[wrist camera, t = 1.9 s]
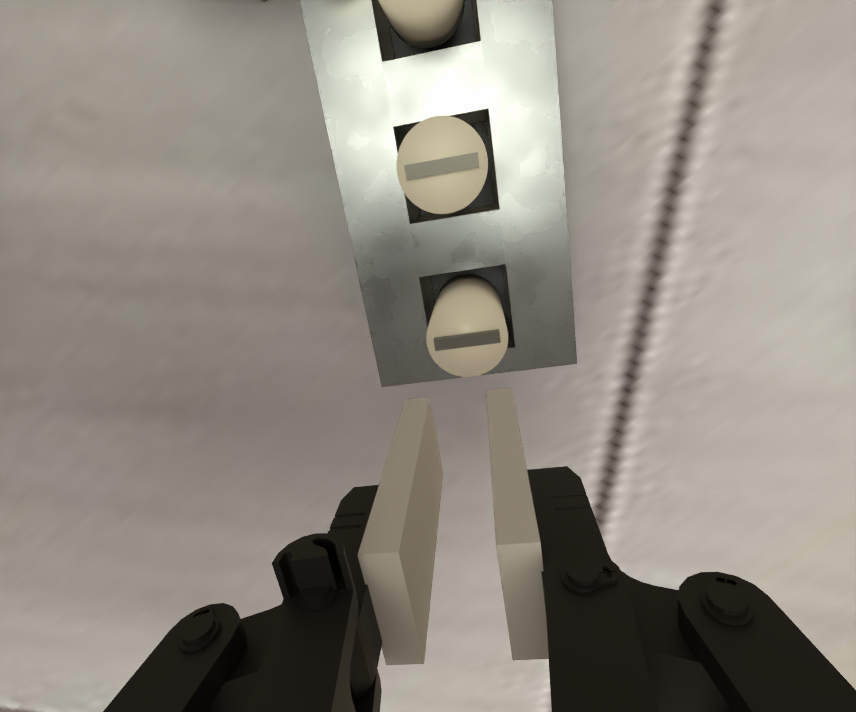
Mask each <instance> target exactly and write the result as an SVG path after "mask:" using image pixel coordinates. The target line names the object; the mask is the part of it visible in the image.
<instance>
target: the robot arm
mask: <svg viewBox="0 0 856 712" xmlns="http://www.w3.org/2000/svg"><path fill="white" fill-rule="evenodd" d="M486 397H487V413H488V428H489V444H490V459H491V475H492V490H493V506H494V521H495V537H496V548H497V555H498V562H499V569H500V576H501V583H502V589H503V596H504V603H505V610H506V617H507V624H508V631H509V637H510V644H511V651H512V658H513V660H529V659H549V671H550V687H551V704H552V712H856V690H855V689H854V688H853V687H852V686H851V685H850V684H849V682H848V681H847V680H846V679H845V678H844V677H843V676H842V675H841V674H840V673H839V672H838V671H837V670H836V668H835V667H834V666H833V665H832V664H831V663H830V662H829V661H828V660H827V659H826V658H825V657H824V655H823V654H822V653H821V652H820V651H819V650H818V649H817V648H816V647H815V646H814V645H813V644H812V642H811V641H810V640H809V639H808V638H807V637H806V636H805V635H804V634H803V633H802V632H801V631H800V629H799V628H798V627H797V626H796V625H795V624H794V623H793V622H792V621H791V620H790V619H789V618H788V616H787V615H786V614H785V613H784V612H783V611H782V610H781V609H780V608H779V607H778V606H777V605H776V604H775V602H774V601H773V600H772V599H771V598H770V597H769V596H768V595H766V594H765V593H764V592H763V591H762V590H760V589H759V588H758V587H757V586H755V585H754V584H752V583H750V582H748V581H746V580H743V579H741V578H739V577H737V576H734V575H729V574H725V573H720V572H701V573H698V574H695V575H693V576H690V577H687V579H686V580H685V581H684V582H683V583H682V584H681V585H680V586H679V590H674V589H669V588H664V587H658V586H654V585H650V584H646V583H643V582H640V581H638V580H636V579H633V578H631V577H629V576H628V575H626V574H625V573H624V572H622V571H621V570H620V569H619V567H618V566H617V565H616V564H615V563H614V562H613V561H612V560H611V559H610V557H609V555H608V553H607V550H606V547H605V544H604V541H603V539H602V536H601V533H600V530H599V528H598V525H597V522H596V519H595V517H594V514H593V511H592V508H591V507H590V503H589V500H588V497H587V496H586V492H585V489H584V486H583V483H582V481H581V478H580V477H579V476H578V475H576V474H575V473H574V472H573V471H572V470H571V469H570V468H568V467H567V466H565V467H554V468H543V469H533V470H527V468H526V462H525V457H524V452H523V446H522V441H521V436H520V430H519V425H518V420H517V414H516V409H515V404H514V398H513V393H512V388H504V389H495V390H486ZM442 479H443V470H442V465H441V459H440V454H439V448H438V443H437V437H436V431H435V426H434V420H433V415H432V409H431V404H430V398H429V397H425V398H417V399H408V400H405V402H404V405H403V408H402V411H401V415H400V418H399V421H398V425H397V428H396V431H395V434H394V438H393V441H392V444H391V447H390V451H389V454H388V457H387V460H386V464H385V467H384V470H383V474H382V477H381V480H380V483H379V485H374V486H363V487H354V488H353V489H352V490H351V491H350V492H349V493H348V494H347V495H346V496H345V497H344V498H343V499H342V500H341V502H340V504H339V507H338V509H337V512H336V514H335V518H334V519H333V521H332V524H331V526H330V530H329V531H328V534H312V535H308V536H304V537H301V538H299V539H298V540H296V541H294V542H292V543H290V544H288V545H287V546H286V547H285V548H284V549H283V550H281V551H280V552H279V553H278V555H277V556H276V558H275V559H274V561H273V562H272V565H273V568H274V571H275V574H276V577H277V580H278V583H279V586H280V589H281V592H282V595H283V598H284V599H283V602H282V604H281V605H279V606H277V607H274V608H272V609H270V610H267V611H264V612H261V613H258V614H255V615H252V616H249V617H246V618H242V619H240V617H239V614H238V612H237V611H236V610H235V608H234V607H233V606H230V605H227V604H224V603H220V604H210V605H208V606H205V607H202V608H200V609H197V610H195V611H194V612H192V613H190V614H189V615H187V616H186V617H184V618H183V619H181V620H180V621H179V622H178V623H177V624H176V625H175V626H174V627H173V628H172V629H171V630H170V631H169V632H168V633H167V635H166V636H165V637H164V638H163V640H162V641H161V642H160V643H159V644H158V646H157V647H156V648H155V649H154V651H153V652H152V653H151V654H150V655H149V657H148V658H147V659H146V660H145V661H144V663H143V664H142V665H141V666H140V668H139V669H138V670H137V671H136V672H135V674H134V675H133V676H132V677H131V678H130V680H129V681H128V682H127V683H126V685H125V686H124V687H123V688H122V689H121V691H120V692H119V693H118V694H117V695H116V697H115V698H114V699H113V700H112V702H111V703H110V704H109V705H108V706H107V708H106V709H105V710H104V711H103V712H380V702H381V682H380V677H379V673H378V670H377V666H378V661H379V656H380V651H381V646H382V650H383V654H384V658H385V662H386V665H402V664H424V659H425V649H426V639H427V629H428V619H429V609H430V599H431V589H432V579H433V569H434V559H435V549H436V539H437V529H438V519H439V509H440V499H441V489H442Z"/></svg>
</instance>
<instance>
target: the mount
mask: <svg viewBox="0 0 856 712" xmlns="http://www.w3.org/2000/svg"><path fill="white" fill-rule="evenodd" d="M300 4H301V9H302V14H303V18H304V23H305V28H306V32H307V37H308V42H309V47H310V51H311V56H312V61H313V65H314V70H315V75H316V79H317V84H318V89H319V94H320V98H321V103H322V108H323V112H324V117H325V122H326V127H327V131H328V136H329V141H330V145H331V150H332V155H333V159H334V164H335V169H336V174H337V178H338V183H339V188H340V192H341V197H342V202H343V206H344V211H345V216H346V221H347V225H348V230H349V235H350V239H351V244H352V249H353V253H354V258H355V263H356V268H357V272H358V277H359V282H360V286H361V291H362V296H363V300H364V305H365V310H366V315H367V319H368V324H369V329H370V333H371V338H372V343H373V348H374V352H375V357H376V362H377V366H378V371H379V376H380V380H381V385H382V387H386V386H394V385H402V384H411V383H419V382H427V381H436V380H444V379H452V378H461V376H456V375H453V374H450V373H448V372H446V371H445V370H443V369H442V368H441V367H439V366H438V365H437V364H436V363H435V361H434V360H433V359H432V357H431V355H430V353H429V350H428V347H427V341H426V335H427V329H428V326H429V322H430V319H431V316H432V312H433V309H434V306H435V301H434V295H433V289H432V283H431V277H430V276H431V275H437V274H444V273H451V272H457V271H464V270H471V269H477V268H484V267H491V266H497V265H502V269H503V278H504V287H505V296H506V304H507V313H508V320H506V321H505V322H506V326H507V331H508V345H507V349H506V352H505V354H504V356H503V358H502V359H501V361H500V362H499V363H498V364H497V365H496V366H495V367H494V368H493V369H491V370H490V371H488V372H486V373H484V374H482V375H486V374H494V373H503V372H511V371H519V370H528V369H536V368H544V367H553V366H561V365H569V364H577V356H576V342H575V327H574V312H573V298H572V283H571V268H570V254H569V239H568V224H567V210H566V195H565V181H564V166H563V151H562V137H561V122H560V107H559V93H558V78H557V63H556V49H555V34H554V19H553V5H552V0H472V7H473V16H474V24H475V33H476V42H474V43H469V44H464V45H460V46H455V47H450V48H446V49H441V50H436V51H432V52H427V53H422V54H417V55H413V56H408V57H403V58H399V59H395V57H394V51H393V45H392V39H391V33H390V27H389V21H388V18H387V16H386V15H385V13H384V11H383V9H382V7H381V5H380V3H379V1H378V0H300ZM434 116H451V117H455V118H458V119H460V120H462V121H464V122H466V123H467V124H475V123H480V122H485V121H486V129H487V138H488V147H489V156H490V164H491V173H492V182H493V191H494V199H495V204H492V205H486V206H480V207H474V208H468V209H462V210H459V211H456V212H453V213H448V214H433V215H427V216H420V210H419V207H418V206H416V205H415V204H414V203H412V202H411V201H410V199H409V198H408V197H407V196H406V194H405V193H404V191H403V190H402V188H401V185H400V183H399V180H398V175H397V155H398V151H399V148H400V145H401V143H402V141H403V139H404V138H405V136H406V135H407V133H408V132H409V131H410V130H411V129H412V128H413V127H414V126H415V125H417V124H418V123H420V122H421V121H423V120H425V119H428V118H431V117H434Z"/></svg>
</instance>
